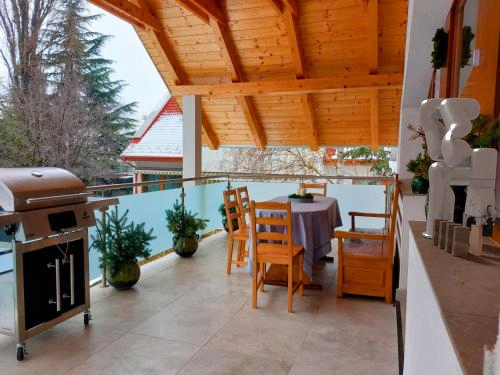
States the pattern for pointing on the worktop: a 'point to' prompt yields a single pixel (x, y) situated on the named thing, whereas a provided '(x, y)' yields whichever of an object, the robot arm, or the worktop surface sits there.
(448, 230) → the domino
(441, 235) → the domino
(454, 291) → the worktop surface
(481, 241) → the end tile
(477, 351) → the worktop surface
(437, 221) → the domino
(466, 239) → the domino
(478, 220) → the skincare box
